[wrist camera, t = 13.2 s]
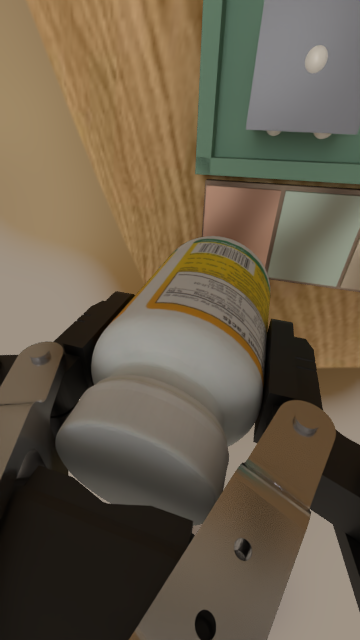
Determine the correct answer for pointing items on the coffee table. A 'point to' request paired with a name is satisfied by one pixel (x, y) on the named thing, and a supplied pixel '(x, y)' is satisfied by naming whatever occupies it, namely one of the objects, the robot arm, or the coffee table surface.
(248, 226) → the track
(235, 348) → the supplement bottle
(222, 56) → the tray
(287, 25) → the die
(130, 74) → the coffee table surface
